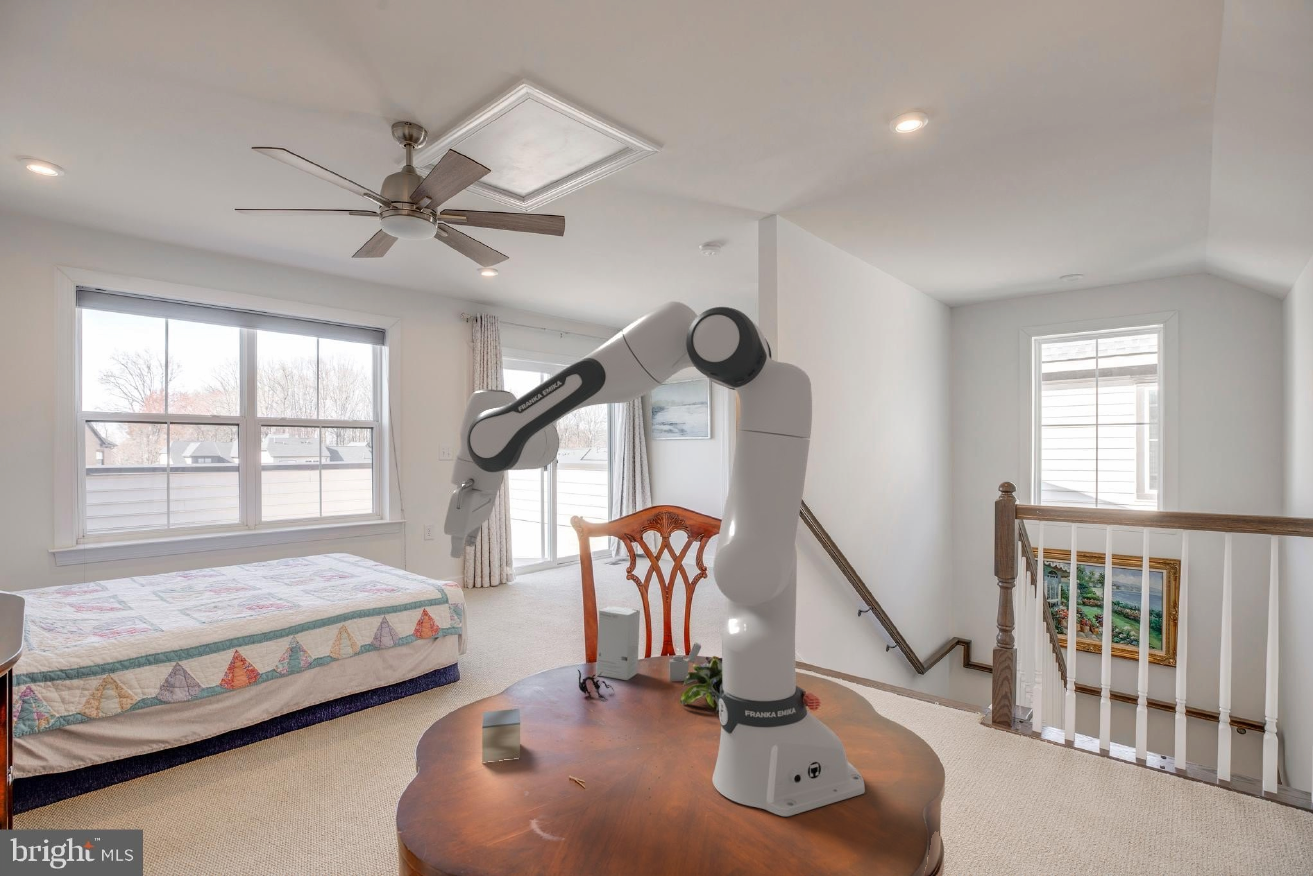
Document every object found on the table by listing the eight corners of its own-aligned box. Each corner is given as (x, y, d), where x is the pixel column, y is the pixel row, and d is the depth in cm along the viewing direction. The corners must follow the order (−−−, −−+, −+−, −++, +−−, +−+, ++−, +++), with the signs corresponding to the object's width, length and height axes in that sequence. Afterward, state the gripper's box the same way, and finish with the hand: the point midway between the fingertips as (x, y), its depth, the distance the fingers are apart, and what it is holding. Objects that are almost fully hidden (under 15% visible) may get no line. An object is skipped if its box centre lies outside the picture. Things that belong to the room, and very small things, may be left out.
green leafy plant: (715, 725, 127) (746, 674, 130) (724, 738, 116) (757, 682, 119) (670, 693, 128) (701, 642, 131) (674, 703, 117) (708, 648, 120)
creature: (607, 692, 135) (572, 687, 132) (613, 667, 135) (577, 662, 133) (616, 705, 127) (578, 701, 125) (621, 679, 128) (584, 674, 125)
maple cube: (519, 743, 107) (519, 708, 108) (520, 759, 102) (520, 722, 102) (483, 747, 106) (483, 712, 106) (482, 764, 100) (482, 726, 100)
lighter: (670, 681, 137) (669, 644, 138) (669, 678, 139) (669, 642, 140) (701, 680, 138) (701, 643, 138) (700, 677, 140) (700, 641, 140)
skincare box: (595, 676, 141) (595, 610, 142) (608, 668, 147) (608, 604, 147) (628, 681, 138) (628, 613, 138) (640, 673, 143) (640, 608, 144)
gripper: (481, 486, 102) (465, 568, 103) (505, 474, 123) (492, 543, 123) (443, 479, 102) (427, 561, 102) (474, 468, 122) (461, 537, 123)
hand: (463, 551), depth 113 cm, fingers open, 8 cm apart
